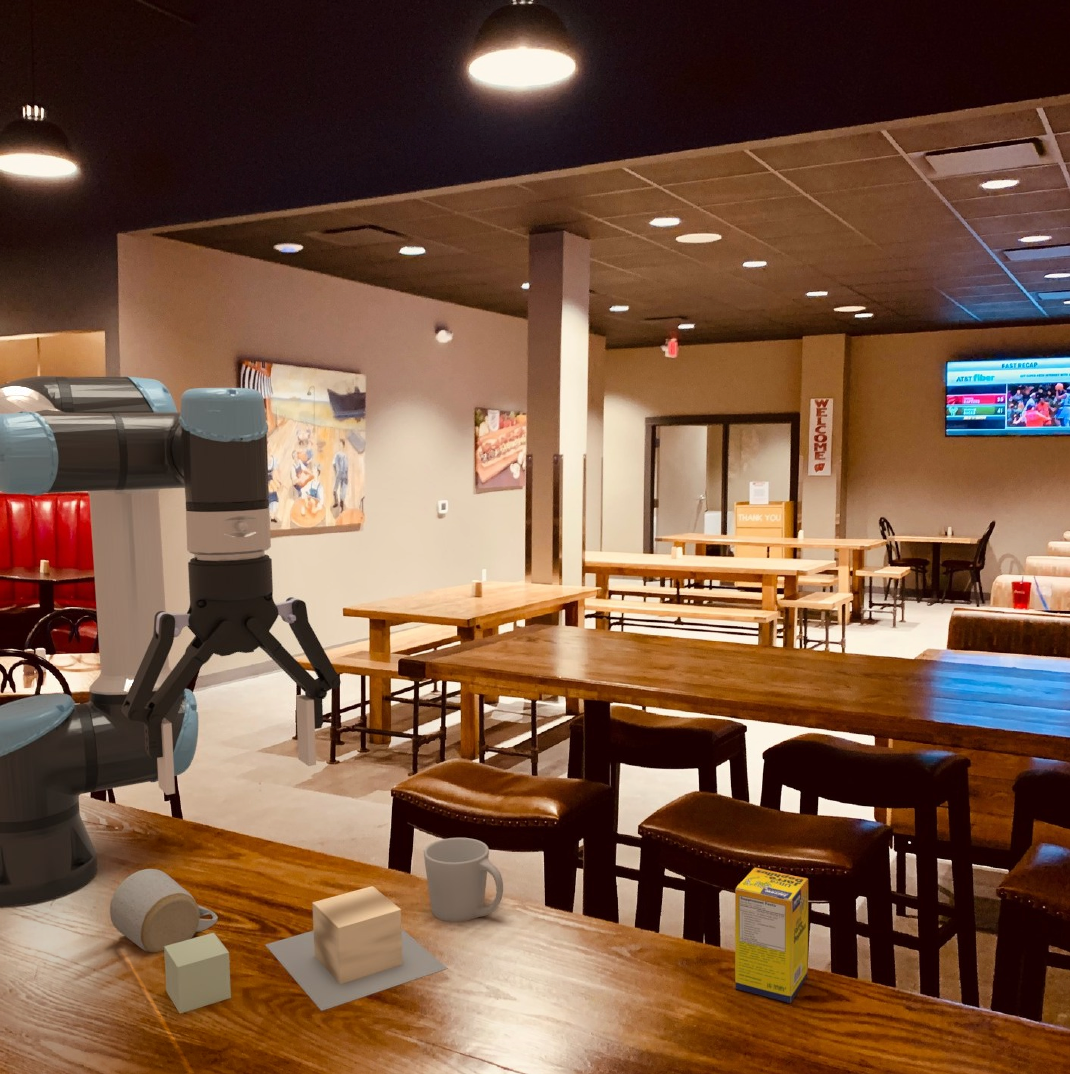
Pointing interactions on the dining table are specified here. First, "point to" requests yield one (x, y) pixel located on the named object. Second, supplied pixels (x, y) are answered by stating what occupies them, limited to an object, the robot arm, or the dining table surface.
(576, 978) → the dining table surface
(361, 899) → the base block
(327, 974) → the board
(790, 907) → the supplement box
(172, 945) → the sage block
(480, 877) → the cup
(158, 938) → the ceramic mug
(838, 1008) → the dining table surface
